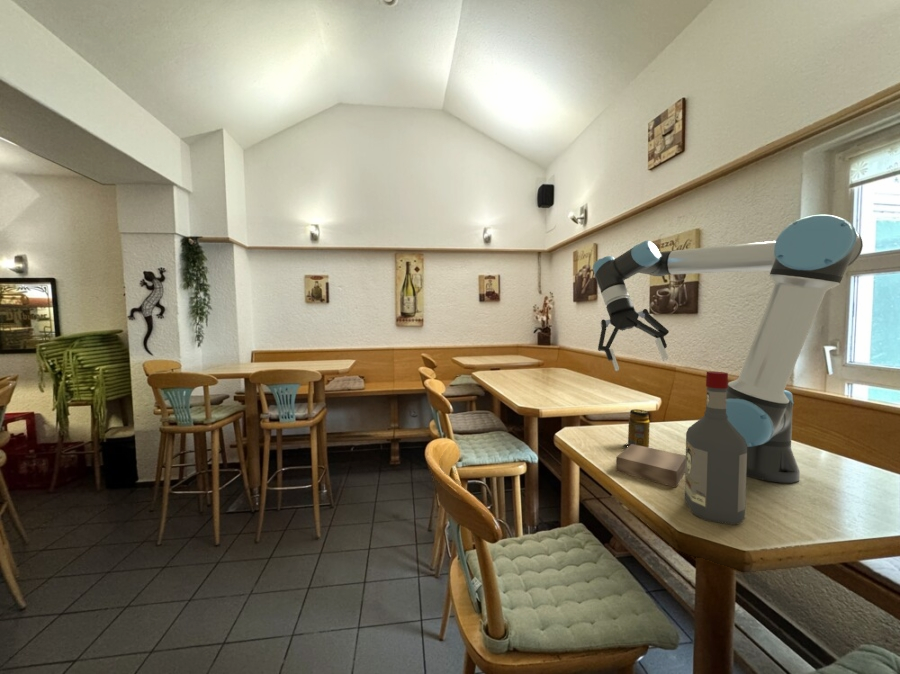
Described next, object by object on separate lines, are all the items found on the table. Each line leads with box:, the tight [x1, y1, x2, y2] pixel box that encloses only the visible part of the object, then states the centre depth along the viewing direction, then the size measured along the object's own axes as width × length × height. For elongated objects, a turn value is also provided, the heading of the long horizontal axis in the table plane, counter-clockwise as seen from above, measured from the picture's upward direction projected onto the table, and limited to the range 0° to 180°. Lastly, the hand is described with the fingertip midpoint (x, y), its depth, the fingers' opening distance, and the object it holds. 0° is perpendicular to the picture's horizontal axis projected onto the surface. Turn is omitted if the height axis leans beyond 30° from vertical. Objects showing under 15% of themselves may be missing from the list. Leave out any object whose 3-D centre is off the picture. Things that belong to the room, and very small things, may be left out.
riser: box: [615, 444, 686, 488], centre depth 96 cm, size 14×14×4 cm
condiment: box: [620, 408, 654, 450], centre depth 114 cm, size 7×8×12 cm
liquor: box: [684, 371, 747, 526], centre depth 74 cm, size 9×9×30 cm
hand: (641, 364), depth 105 cm, fingers open, 13 cm apart
